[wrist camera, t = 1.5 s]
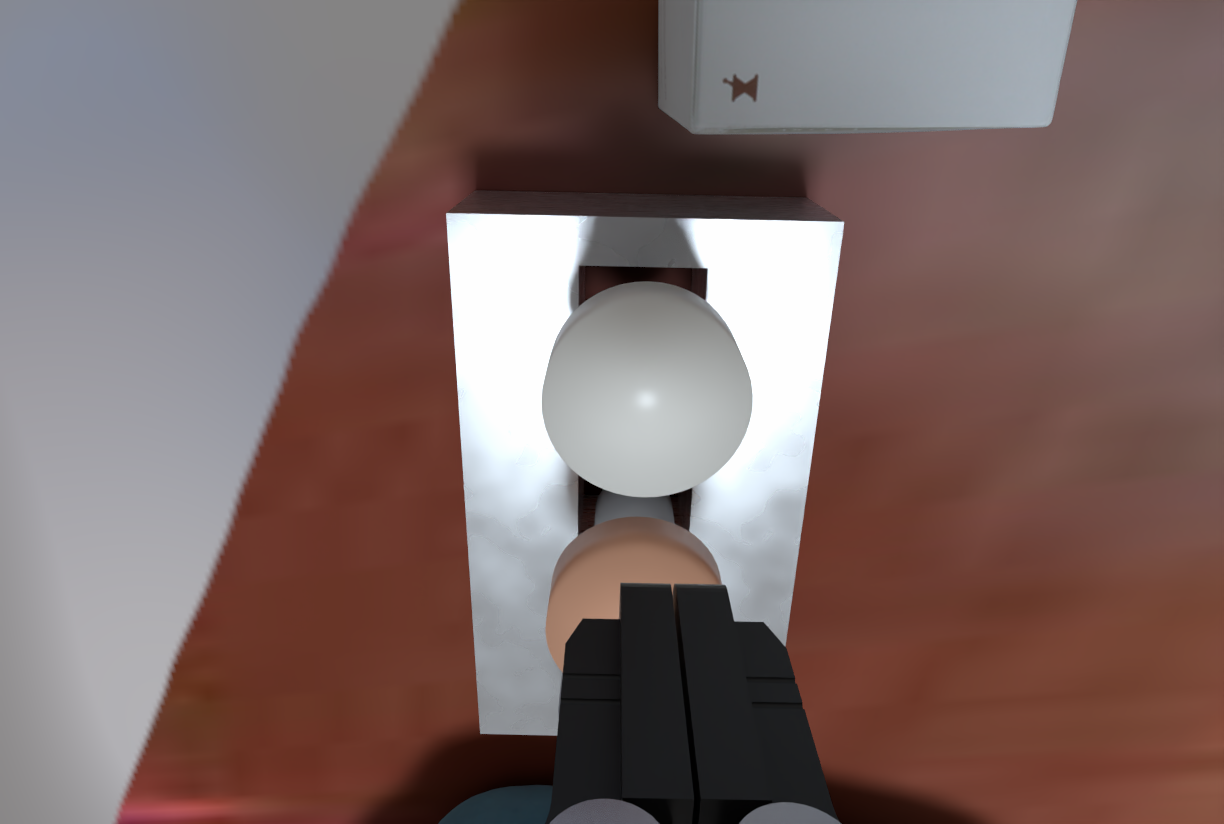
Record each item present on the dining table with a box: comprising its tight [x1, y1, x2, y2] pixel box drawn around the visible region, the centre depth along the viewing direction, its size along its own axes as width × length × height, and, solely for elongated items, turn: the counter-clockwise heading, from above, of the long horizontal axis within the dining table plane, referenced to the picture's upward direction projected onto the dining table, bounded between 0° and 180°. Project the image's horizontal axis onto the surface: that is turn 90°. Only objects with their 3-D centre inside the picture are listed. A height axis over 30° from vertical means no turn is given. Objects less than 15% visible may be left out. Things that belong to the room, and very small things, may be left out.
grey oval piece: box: [541, 281, 753, 497], centre depth 22 cm, size 5×5×7 cm
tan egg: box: [545, 489, 722, 672], centre depth 25 cm, size 5×5×7 cm
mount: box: [446, 190, 844, 736], centre depth 30 cm, size 12×21×5 cm, turn 179°
